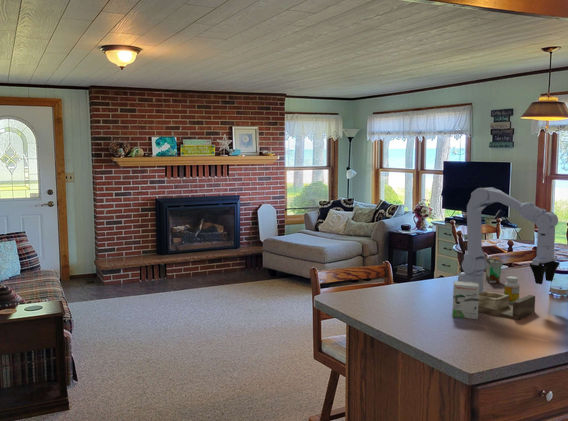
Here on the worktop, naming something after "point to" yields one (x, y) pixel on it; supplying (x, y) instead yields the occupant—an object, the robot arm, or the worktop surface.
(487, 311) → the base
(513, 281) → the supplement bottle
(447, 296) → the worktop surface
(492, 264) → the food container
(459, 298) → the ink box
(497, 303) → the beige square tray
